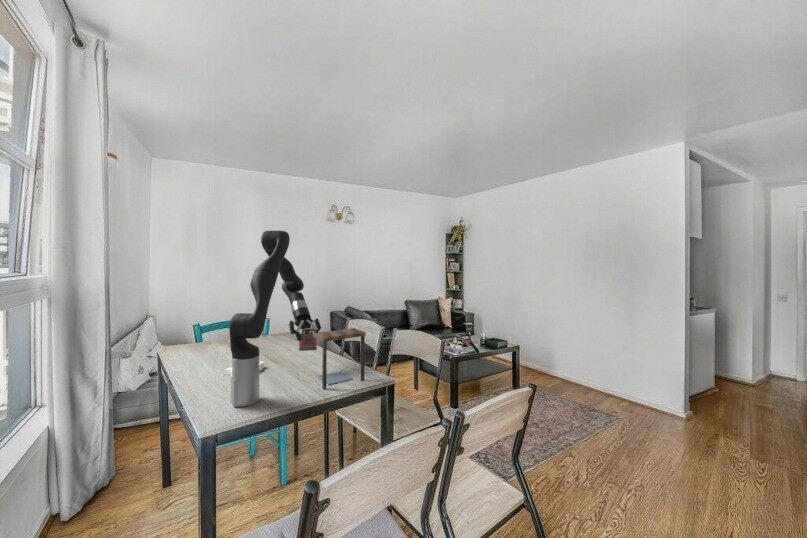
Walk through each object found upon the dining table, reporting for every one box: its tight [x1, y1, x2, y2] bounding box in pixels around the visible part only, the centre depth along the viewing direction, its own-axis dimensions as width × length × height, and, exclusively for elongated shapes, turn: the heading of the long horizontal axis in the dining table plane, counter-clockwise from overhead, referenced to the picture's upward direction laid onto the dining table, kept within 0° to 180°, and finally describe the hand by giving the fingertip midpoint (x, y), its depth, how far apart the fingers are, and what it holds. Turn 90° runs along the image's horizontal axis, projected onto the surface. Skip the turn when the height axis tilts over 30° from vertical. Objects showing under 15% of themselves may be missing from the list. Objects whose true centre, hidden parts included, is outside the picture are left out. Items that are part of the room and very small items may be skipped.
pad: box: [317, 370, 354, 386], centre depth 152 cm, size 12×12×1 cm
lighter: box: [298, 328, 318, 352], centre depth 156 cm, size 8×3×10 cm, turn 105°
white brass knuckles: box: [222, 360, 265, 378], centre depth 159 cm, size 3×18×15 cm
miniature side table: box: [313, 327, 367, 390], centre depth 148 cm, size 20×11×22 cm, turn 126°
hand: (309, 339), depth 155 cm, fingers closed on lighter, 8 cm apart
